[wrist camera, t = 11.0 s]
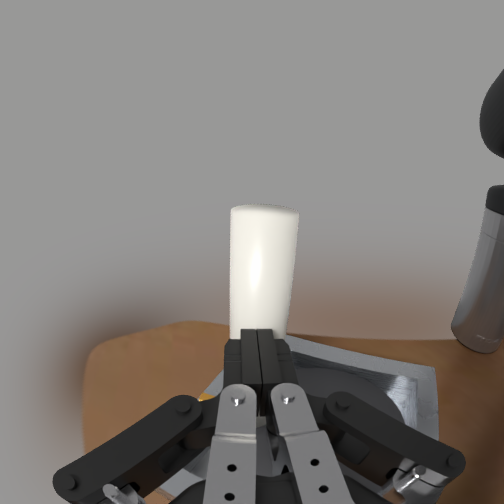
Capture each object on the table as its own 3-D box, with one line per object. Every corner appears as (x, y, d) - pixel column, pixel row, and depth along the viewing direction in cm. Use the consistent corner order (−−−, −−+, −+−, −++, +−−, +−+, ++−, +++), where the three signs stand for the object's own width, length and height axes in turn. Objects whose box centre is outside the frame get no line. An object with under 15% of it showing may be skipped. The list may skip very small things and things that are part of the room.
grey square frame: (256, 351, 28) (258, 324, 26) (420, 391, 21) (435, 365, 19) (146, 485, 12) (131, 467, 11) (395, 561, 5) (424, 554, 4)
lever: (394, 395, 20) (459, 221, 14) (387, 523, 8) (579, 329, 3) (259, 371, 24) (271, 190, 18) (195, 486, 12) (131, 257, 7)
